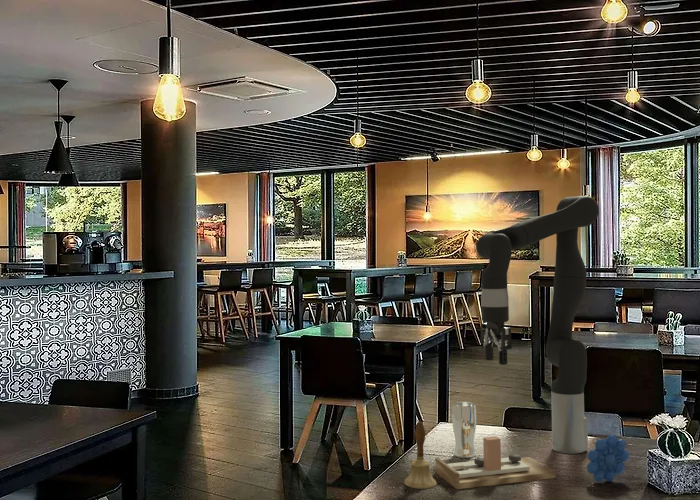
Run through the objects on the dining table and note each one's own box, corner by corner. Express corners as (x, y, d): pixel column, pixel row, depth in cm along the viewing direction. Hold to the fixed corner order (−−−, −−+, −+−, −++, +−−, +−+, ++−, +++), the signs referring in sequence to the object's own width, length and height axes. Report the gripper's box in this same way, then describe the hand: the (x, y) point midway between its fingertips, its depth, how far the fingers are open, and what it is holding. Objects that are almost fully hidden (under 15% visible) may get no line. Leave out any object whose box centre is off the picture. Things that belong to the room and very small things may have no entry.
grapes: (619, 474, 185) (619, 429, 185) (634, 483, 178) (633, 435, 178) (579, 478, 183) (578, 432, 183) (592, 486, 176) (591, 439, 176)
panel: (513, 460, 193) (512, 427, 193) (529, 470, 184) (528, 436, 184) (441, 468, 188) (441, 434, 188) (455, 478, 179) (454, 443, 179)
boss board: (528, 462, 197) (528, 446, 197) (555, 477, 184) (555, 460, 183) (435, 472, 190) (435, 455, 190) (456, 489, 176) (456, 471, 176)
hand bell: (438, 479, 184) (437, 418, 184) (434, 490, 176) (433, 426, 176) (406, 477, 186) (405, 417, 186) (401, 488, 178) (400, 425, 178)
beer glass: (476, 459, 201) (475, 406, 201) (452, 458, 202) (451, 406, 202) (477, 452, 208) (476, 401, 208) (453, 451, 209) (452, 400, 209)
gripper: (519, 306, 192) (520, 365, 192) (495, 302, 206) (496, 357, 206) (494, 307, 190) (495, 367, 190) (471, 303, 204) (472, 359, 204)
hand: (495, 362), depth 198 cm, fingers open, 8 cm apart
